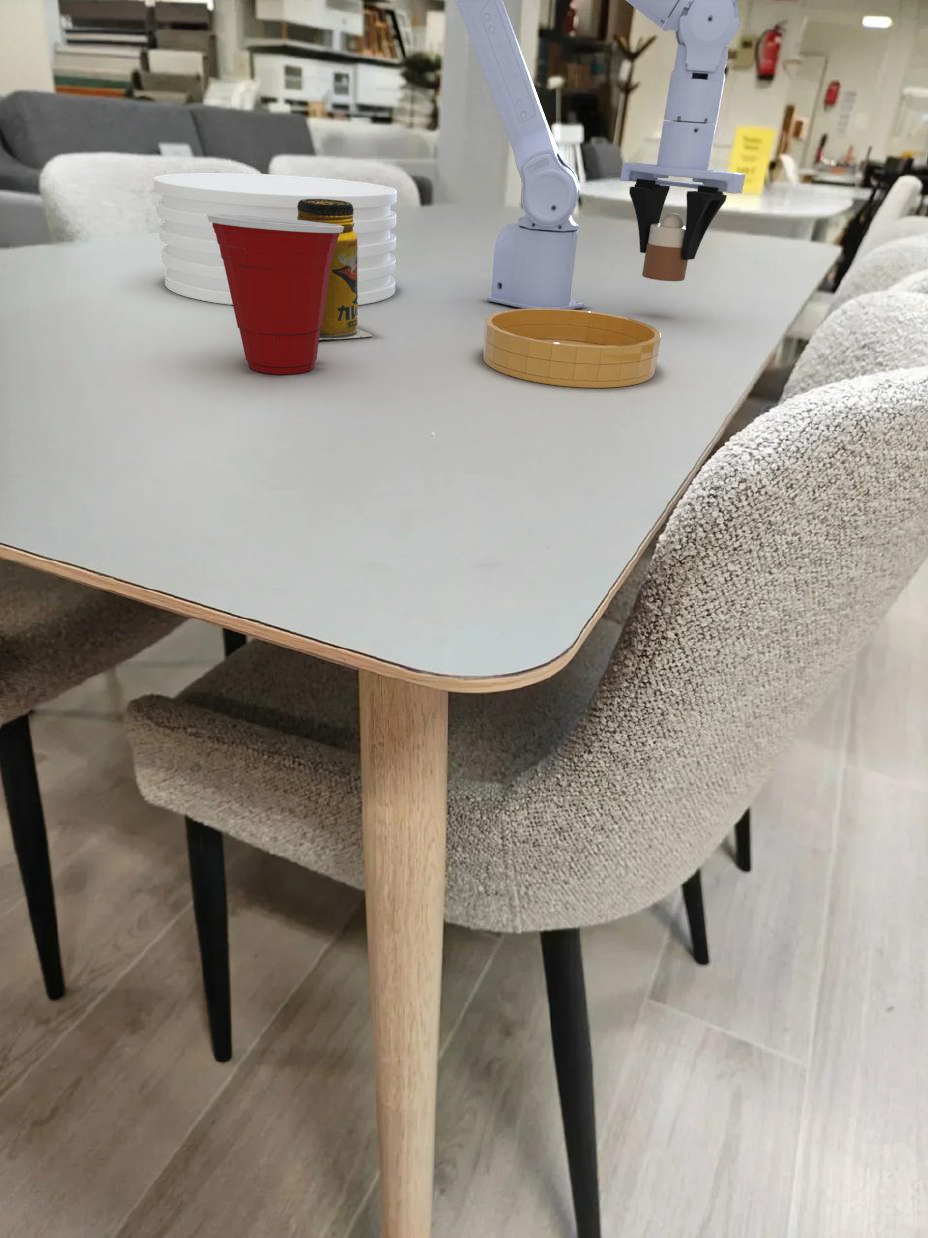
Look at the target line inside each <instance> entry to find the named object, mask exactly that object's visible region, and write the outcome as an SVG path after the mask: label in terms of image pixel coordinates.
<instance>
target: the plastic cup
mask: <svg viewBox="0 0 928 1238" xmlns="http://www.w3.org/2000/svg"><path fill="white" fill-rule="evenodd" d="M207 216H208V220H209V222H212V226H213V228H214V232H215V233H216V237H217V243H218V244H219V247H220V252H221V257H222V259H223V262H224V266H225V271H226V275H227V280H228V285H229V289H230V294H231V298H232V303H233V305H232V307H233V312H234V316H235V320H236V321H235V322H236V327H237V329H239V333H240V338H241V343H242V348H243V352H244V356H245V360H246V361H247V365H248V368H250V369H251V370H253V371H256V372H259V373H264V374H272V375H294V374H303V373H305V372H309V371H310V372H311V371H312V370H313V369H314V368H315V364H316V361H317V359H318V352H319V351H318V350H319V344H320V340H319V336H320V329H321V328H322V322H323V315H324V308H325V301H326V294H327V287H328V280H329V273H330V266H331V264H332V260H333V253H334V251H335V248H336V242H337V241H338V237H339V233H341V232H343V229H344V227H343V226H341V225H335V224H328V223H321V222H312V221H304V220H294V219H284V218H272V217H260V216H246V215H228V214H207Z"/></svg>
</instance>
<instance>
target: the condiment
mask: <svg viewBox="0 0 928 1238" xmlns="http://www.w3.org/2000/svg"><path fill="white" fill-rule="evenodd" d="M297 208H298V218H297V220H304V221H312V222H321V223H328V224H335V225H341V226H343V227H344V229H343V232H341V233H339V237H338V241H337V242H336V248H335V251H334V253H333V260H332V264H331V266H330V273H329V280H328V287H327V294H326V301H325V308H324V315H323V322H322V328H321V329H320V336H319V341H320V340H321V341H322V340H344V339H345V340H346V339H357V338H369V337H372V336H373V334H371V333H369V332H367V331H364V330H362V329H360V328H357V326H358V315H359V314H358V309H359V305H358V302H357V299H358V292H357V291H358V290H357V250H358V246H357V236H356V233H355V232H354V231H353V226H354V222H353V211H354V209H353V205H352V204H351V203H349V202H345V201H340V200H329V199H303V200H300V201H299V202H298V206H297Z"/></svg>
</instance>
